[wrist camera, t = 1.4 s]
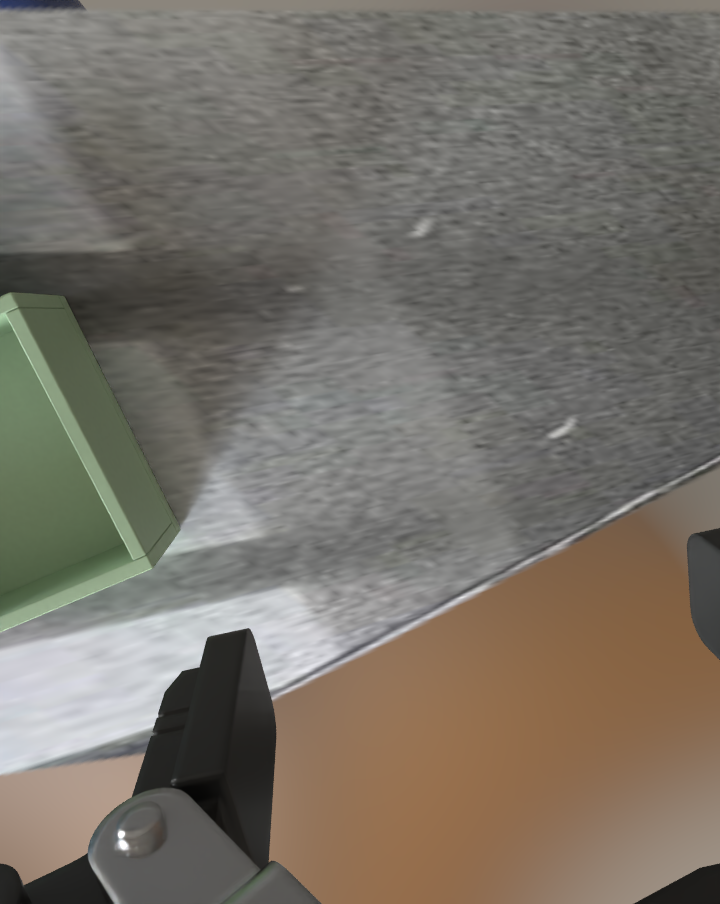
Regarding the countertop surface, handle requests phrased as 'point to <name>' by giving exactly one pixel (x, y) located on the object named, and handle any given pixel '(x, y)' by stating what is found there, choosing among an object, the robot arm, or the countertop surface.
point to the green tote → (66, 469)
